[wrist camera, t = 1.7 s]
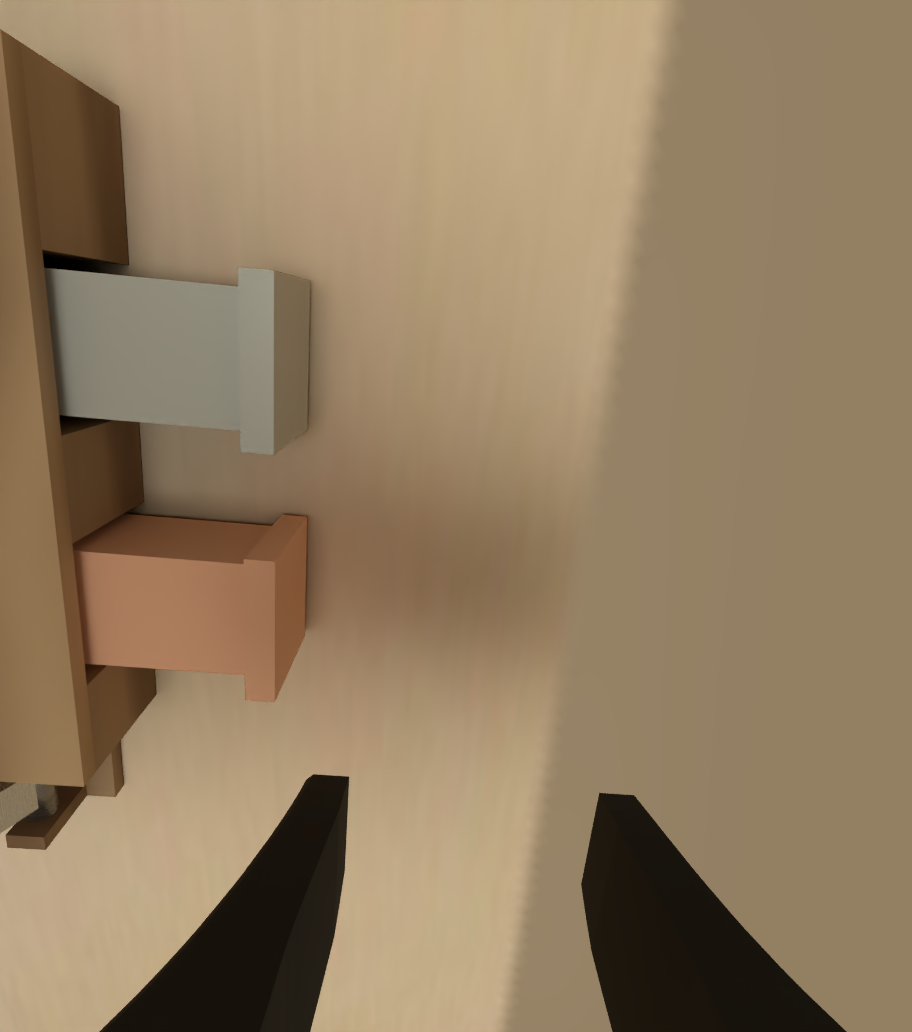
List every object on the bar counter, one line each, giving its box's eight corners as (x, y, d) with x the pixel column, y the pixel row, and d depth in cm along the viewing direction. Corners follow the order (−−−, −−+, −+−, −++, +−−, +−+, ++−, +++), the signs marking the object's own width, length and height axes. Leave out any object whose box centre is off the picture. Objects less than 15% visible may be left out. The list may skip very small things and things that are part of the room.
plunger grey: (310, 281, 17) (273, 270, 14) (307, 428, 19) (273, 455, 15) (67, 257, 17) (-35, 240, 13) (80, 409, 18) (-10, 430, 15)
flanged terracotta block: (307, 516, 19) (275, 561, 16) (304, 635, 21) (274, 702, 17) (90, 498, 19) (7, 540, 16) (102, 620, 20) (27, 684, 17)
